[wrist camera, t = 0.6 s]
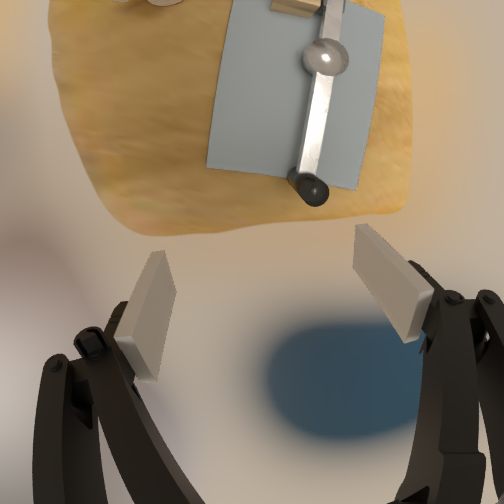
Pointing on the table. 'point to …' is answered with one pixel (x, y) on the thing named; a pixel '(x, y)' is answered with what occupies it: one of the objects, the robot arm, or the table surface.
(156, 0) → the mug
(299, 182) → the lever
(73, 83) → the table surface
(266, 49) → the base
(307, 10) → the block
